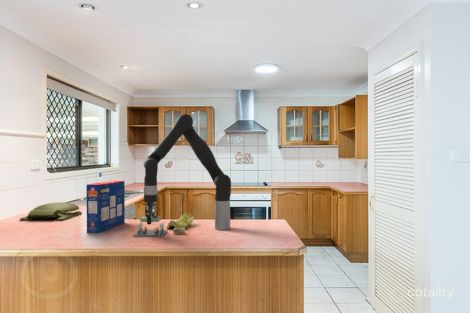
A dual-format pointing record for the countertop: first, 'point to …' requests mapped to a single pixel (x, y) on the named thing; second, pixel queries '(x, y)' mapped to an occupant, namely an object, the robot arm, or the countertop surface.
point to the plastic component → (182, 221)
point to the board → (153, 219)
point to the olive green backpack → (53, 211)
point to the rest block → (178, 231)
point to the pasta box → (105, 205)
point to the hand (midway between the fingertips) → (150, 222)
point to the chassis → (150, 231)
